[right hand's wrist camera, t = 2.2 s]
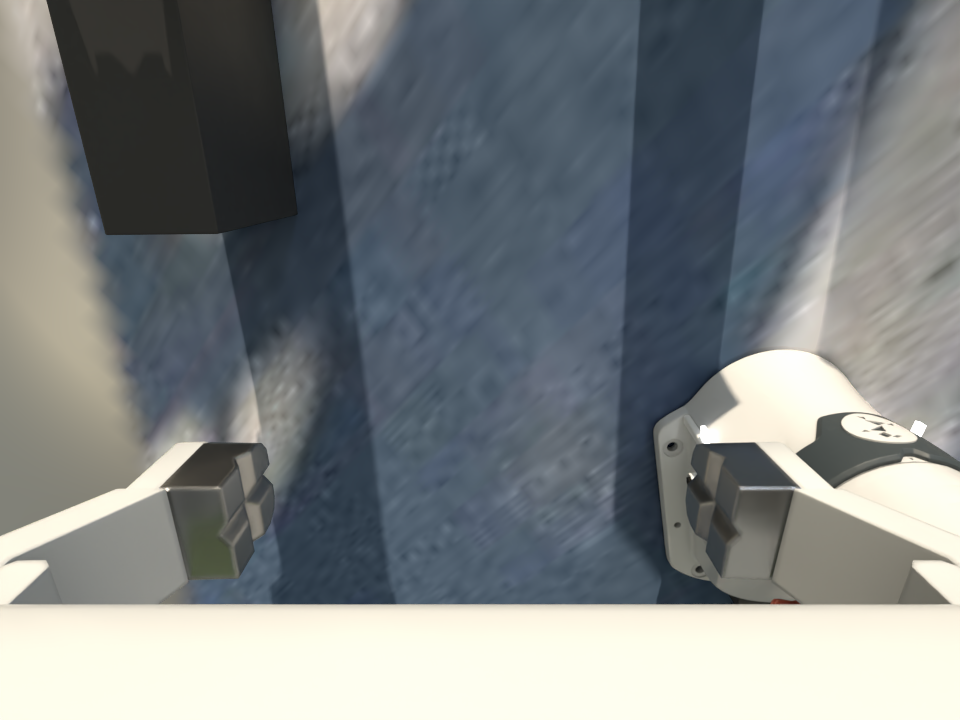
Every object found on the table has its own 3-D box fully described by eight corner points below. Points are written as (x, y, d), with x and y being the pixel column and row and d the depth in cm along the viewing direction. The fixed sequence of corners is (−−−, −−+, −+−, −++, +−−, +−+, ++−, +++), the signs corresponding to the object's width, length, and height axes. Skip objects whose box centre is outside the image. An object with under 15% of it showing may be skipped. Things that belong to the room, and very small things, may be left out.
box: (298, 214, 38) (218, 233, 27) (218, 215, 38) (104, 235, 27) (252, -143, 31) (118, -322, 20) (154, -141, 31) (-35, -318, 20)
